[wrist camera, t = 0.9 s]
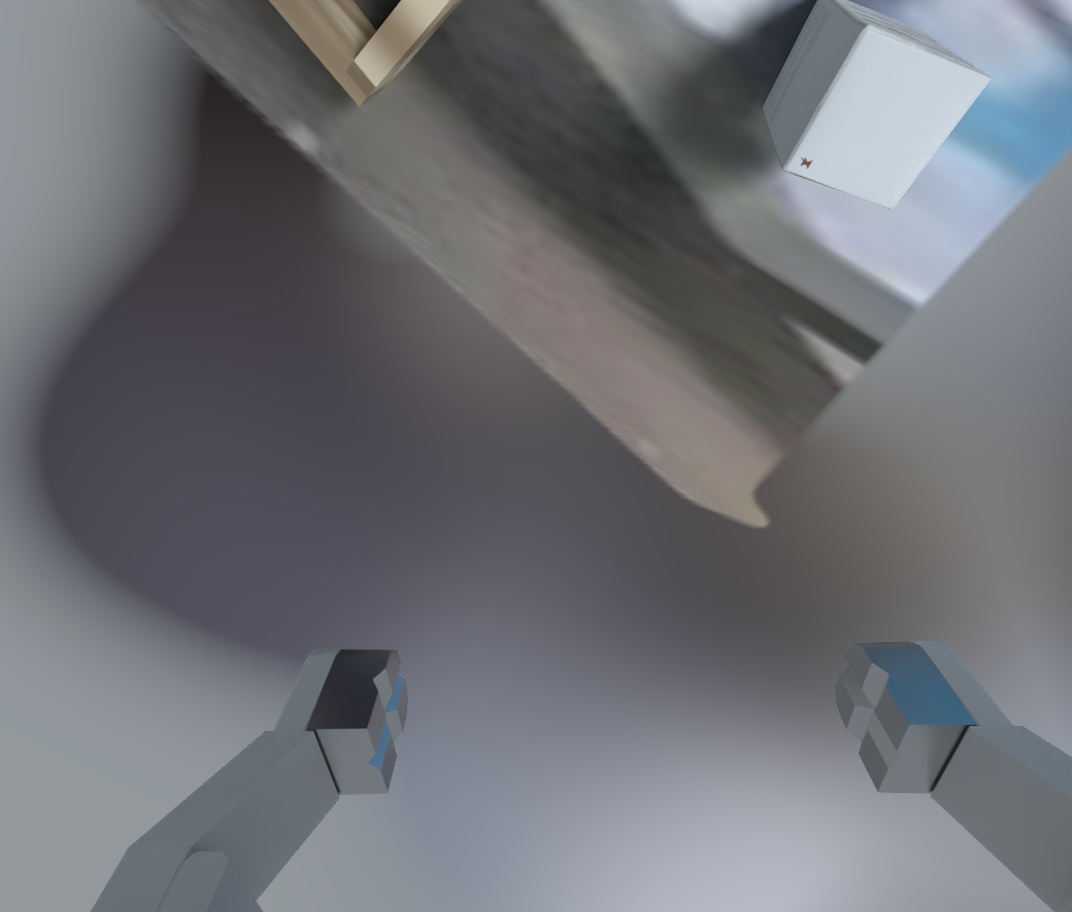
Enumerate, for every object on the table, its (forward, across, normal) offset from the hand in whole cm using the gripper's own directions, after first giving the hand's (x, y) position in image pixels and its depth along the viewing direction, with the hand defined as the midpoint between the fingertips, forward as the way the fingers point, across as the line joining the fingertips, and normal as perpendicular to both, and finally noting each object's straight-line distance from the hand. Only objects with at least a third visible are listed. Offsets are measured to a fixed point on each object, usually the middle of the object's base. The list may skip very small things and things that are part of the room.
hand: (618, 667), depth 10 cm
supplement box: (+41, -19, -11) cm, 46 cm away
